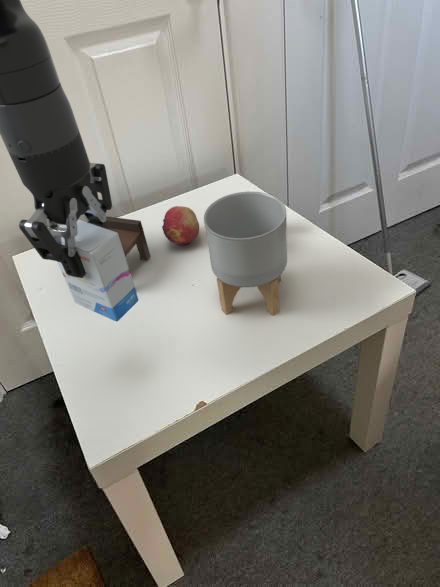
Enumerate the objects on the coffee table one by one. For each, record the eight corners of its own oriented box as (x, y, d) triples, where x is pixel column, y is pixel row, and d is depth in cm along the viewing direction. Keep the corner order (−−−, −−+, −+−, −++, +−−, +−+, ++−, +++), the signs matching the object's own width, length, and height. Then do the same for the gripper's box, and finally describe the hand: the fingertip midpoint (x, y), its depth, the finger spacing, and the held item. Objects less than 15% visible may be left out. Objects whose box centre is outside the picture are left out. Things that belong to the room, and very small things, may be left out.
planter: (302, 295, 82) (304, 212, 70) (247, 332, 77) (238, 250, 65) (255, 262, 90) (249, 182, 78) (203, 294, 86) (187, 214, 73)
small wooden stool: (123, 295, 88) (110, 259, 82) (71, 285, 92) (55, 250, 85) (150, 256, 96) (140, 220, 89) (101, 248, 99) (89, 213, 93)
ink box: (141, 299, 64) (119, 230, 56) (117, 323, 61) (90, 254, 53) (97, 281, 68) (71, 214, 59) (73, 302, 65) (41, 235, 57)
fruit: (203, 249, 95) (198, 217, 90) (167, 256, 95) (159, 224, 89) (199, 228, 101) (194, 196, 95) (165, 234, 101) (157, 203, 95)
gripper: (53, 105, 53) (96, 224, 65) (-35, 166, 44) (33, 292, 56) (108, 108, 51) (142, 231, 63) (27, 173, 42) (85, 303, 53)
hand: (91, 259), depth 59 cm, fingers closed on ink box, 5 cm apart
